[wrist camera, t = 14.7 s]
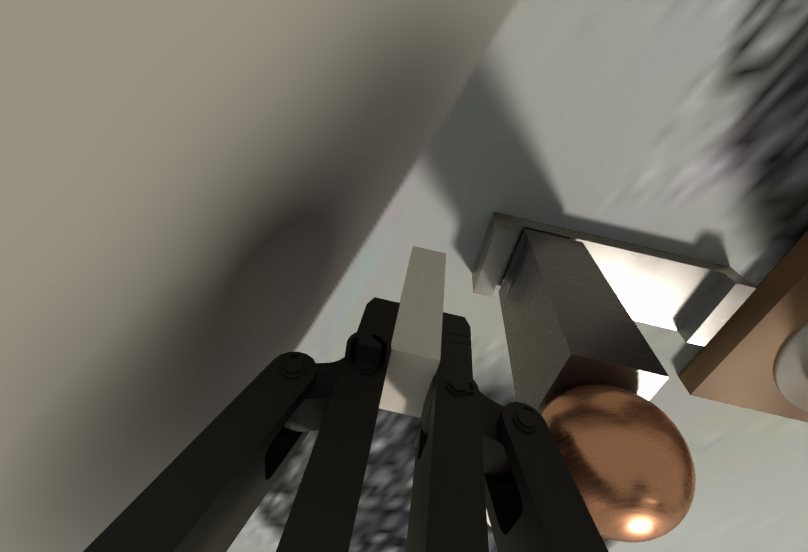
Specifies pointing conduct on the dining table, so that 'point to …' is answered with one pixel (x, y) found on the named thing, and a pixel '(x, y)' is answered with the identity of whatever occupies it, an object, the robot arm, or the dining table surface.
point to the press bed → (762, 346)
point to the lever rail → (631, 278)
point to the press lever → (594, 388)
